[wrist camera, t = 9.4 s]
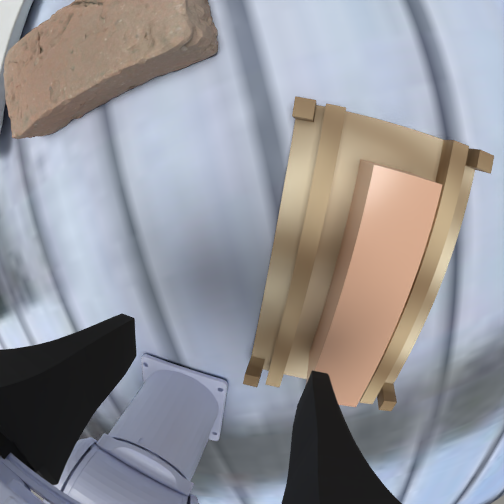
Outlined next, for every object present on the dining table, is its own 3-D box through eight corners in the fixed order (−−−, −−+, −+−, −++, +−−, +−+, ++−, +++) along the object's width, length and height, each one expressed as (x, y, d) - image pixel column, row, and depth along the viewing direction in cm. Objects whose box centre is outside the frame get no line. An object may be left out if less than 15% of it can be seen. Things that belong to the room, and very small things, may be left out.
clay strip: (353, 360, 20) (355, 407, 16) (309, 352, 20) (304, 398, 16) (413, 173, 15) (442, 184, 11) (360, 159, 16) (373, 164, 11)
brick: (201, -35, 14) (173, -66, 10) (226, 57, 16) (196, 36, 12) (39, 58, 18) (1, 55, 14) (49, 139, 21) (7, 145, 17)
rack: (386, 384, 21) (390, 411, 19) (252, 357, 23) (243, 383, 20) (471, 152, 15) (494, 155, 12) (299, 104, 16) (295, 96, 13)
